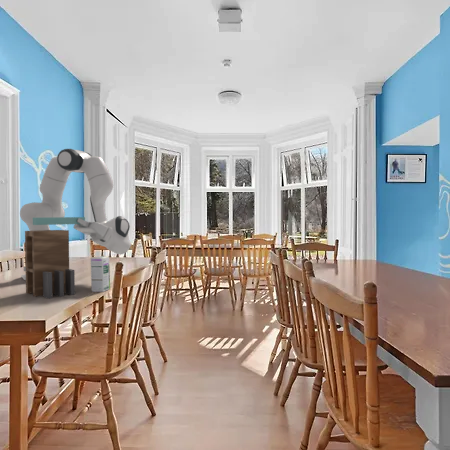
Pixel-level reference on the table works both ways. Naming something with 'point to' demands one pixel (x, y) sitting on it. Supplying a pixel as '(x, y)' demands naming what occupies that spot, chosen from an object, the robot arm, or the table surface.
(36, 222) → the teal tile bar
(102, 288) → the syrup box
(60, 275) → the domino
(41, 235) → the walnut stand
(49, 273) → the domino
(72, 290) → the domino
